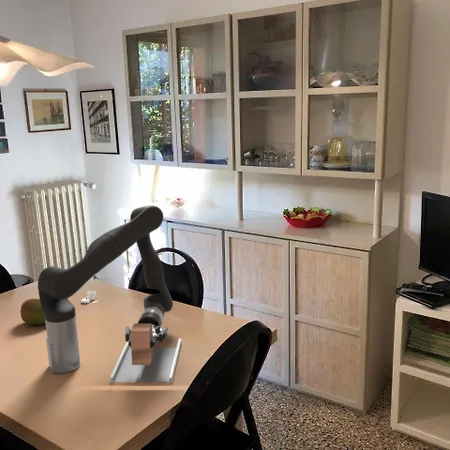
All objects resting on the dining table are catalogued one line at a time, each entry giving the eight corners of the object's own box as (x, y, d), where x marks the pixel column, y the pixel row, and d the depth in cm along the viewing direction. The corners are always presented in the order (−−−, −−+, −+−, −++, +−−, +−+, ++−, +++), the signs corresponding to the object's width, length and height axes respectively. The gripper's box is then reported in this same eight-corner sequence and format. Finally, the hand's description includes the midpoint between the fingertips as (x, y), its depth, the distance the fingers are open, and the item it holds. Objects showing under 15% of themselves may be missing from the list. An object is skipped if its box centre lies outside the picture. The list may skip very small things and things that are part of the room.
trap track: (172, 385, 150) (171, 377, 150) (110, 385, 151) (109, 377, 150) (181, 344, 175) (181, 338, 175) (128, 345, 176) (128, 338, 175)
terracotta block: (150, 365, 152) (148, 331, 149) (132, 364, 152) (130, 331, 149) (153, 356, 157) (151, 323, 155) (135, 356, 157) (134, 323, 155)
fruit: (21, 320, 198) (18, 296, 196) (54, 314, 203) (51, 291, 201) (22, 332, 188) (19, 307, 186) (57, 325, 193) (54, 301, 190)
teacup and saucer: (83, 306, 213) (82, 297, 212) (77, 300, 219) (77, 291, 218) (103, 301, 217) (102, 292, 216) (97, 296, 224) (96, 287, 223)
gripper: (128, 311, 167) (116, 333, 151) (171, 311, 167) (164, 333, 151) (129, 332, 169) (118, 356, 153) (172, 332, 169) (165, 356, 152)
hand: (141, 344), depth 152 cm, fingers closed on terracotta block, 5 cm apart
